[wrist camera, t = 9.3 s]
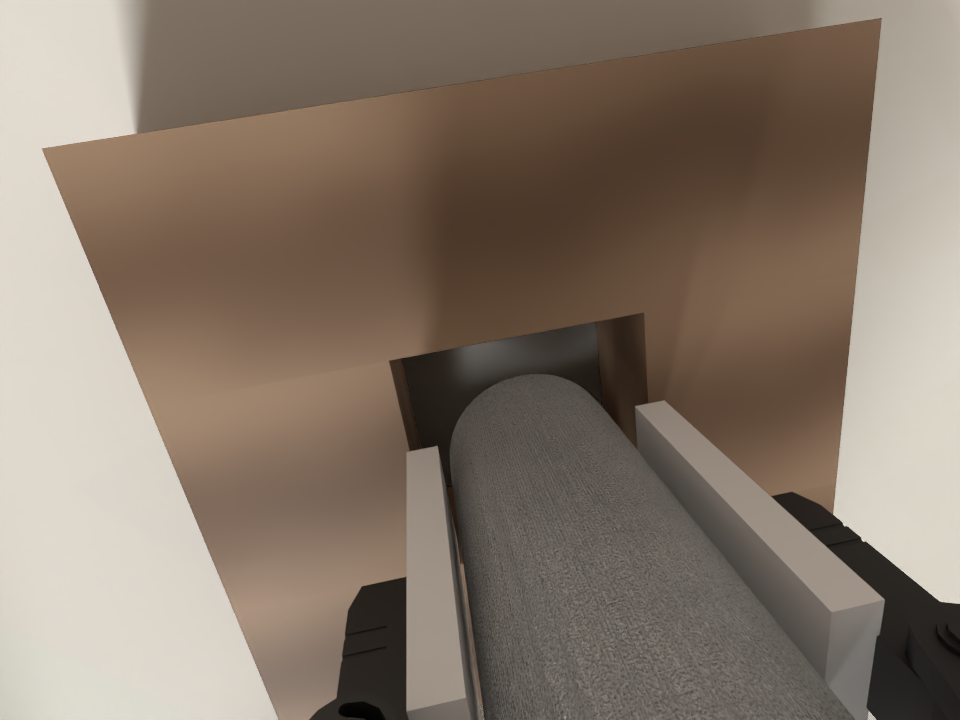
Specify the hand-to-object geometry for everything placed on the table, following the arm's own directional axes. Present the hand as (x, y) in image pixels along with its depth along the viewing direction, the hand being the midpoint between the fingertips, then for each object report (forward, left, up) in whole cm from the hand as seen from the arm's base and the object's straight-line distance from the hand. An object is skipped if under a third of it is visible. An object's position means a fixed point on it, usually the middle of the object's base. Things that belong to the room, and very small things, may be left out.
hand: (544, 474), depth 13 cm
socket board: (0, 0, -5) cm, 5 cm away
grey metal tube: (0, 0, -2) cm, 2 cm away
